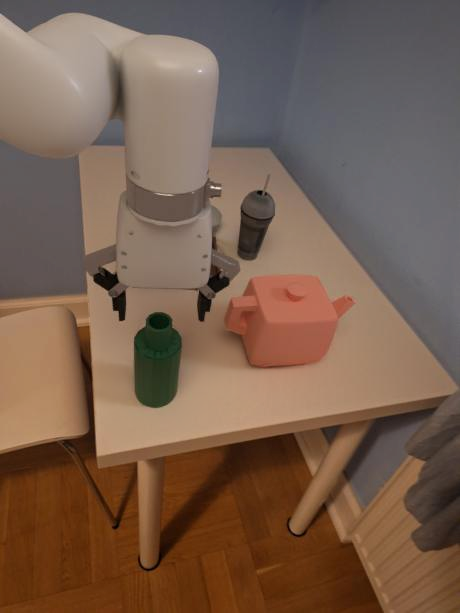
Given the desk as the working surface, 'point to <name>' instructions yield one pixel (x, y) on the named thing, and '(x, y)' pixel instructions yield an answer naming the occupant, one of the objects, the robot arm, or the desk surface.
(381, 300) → the desk surface
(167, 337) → the bottle
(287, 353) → the teapot
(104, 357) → the desk surface
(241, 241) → the beverage cup
